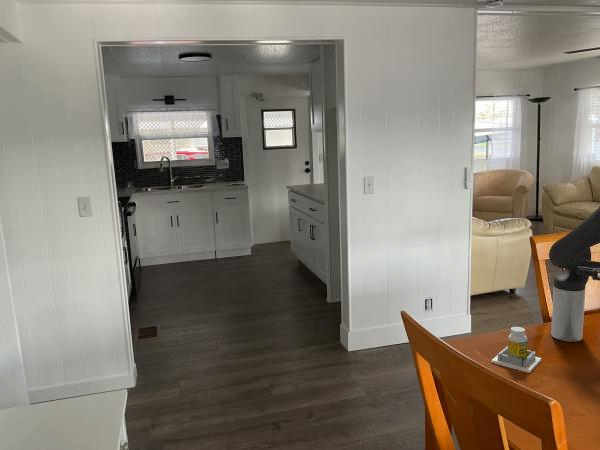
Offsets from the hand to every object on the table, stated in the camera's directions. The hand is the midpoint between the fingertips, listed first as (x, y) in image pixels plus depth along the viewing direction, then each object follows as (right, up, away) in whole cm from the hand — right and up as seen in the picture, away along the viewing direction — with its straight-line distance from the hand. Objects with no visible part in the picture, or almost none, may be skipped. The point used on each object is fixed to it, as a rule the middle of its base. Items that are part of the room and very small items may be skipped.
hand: (580, 267), depth 140 cm
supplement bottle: (-14, -29, +9) cm, 33 cm away
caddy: (-14, -29, +10) cm, 34 cm away
